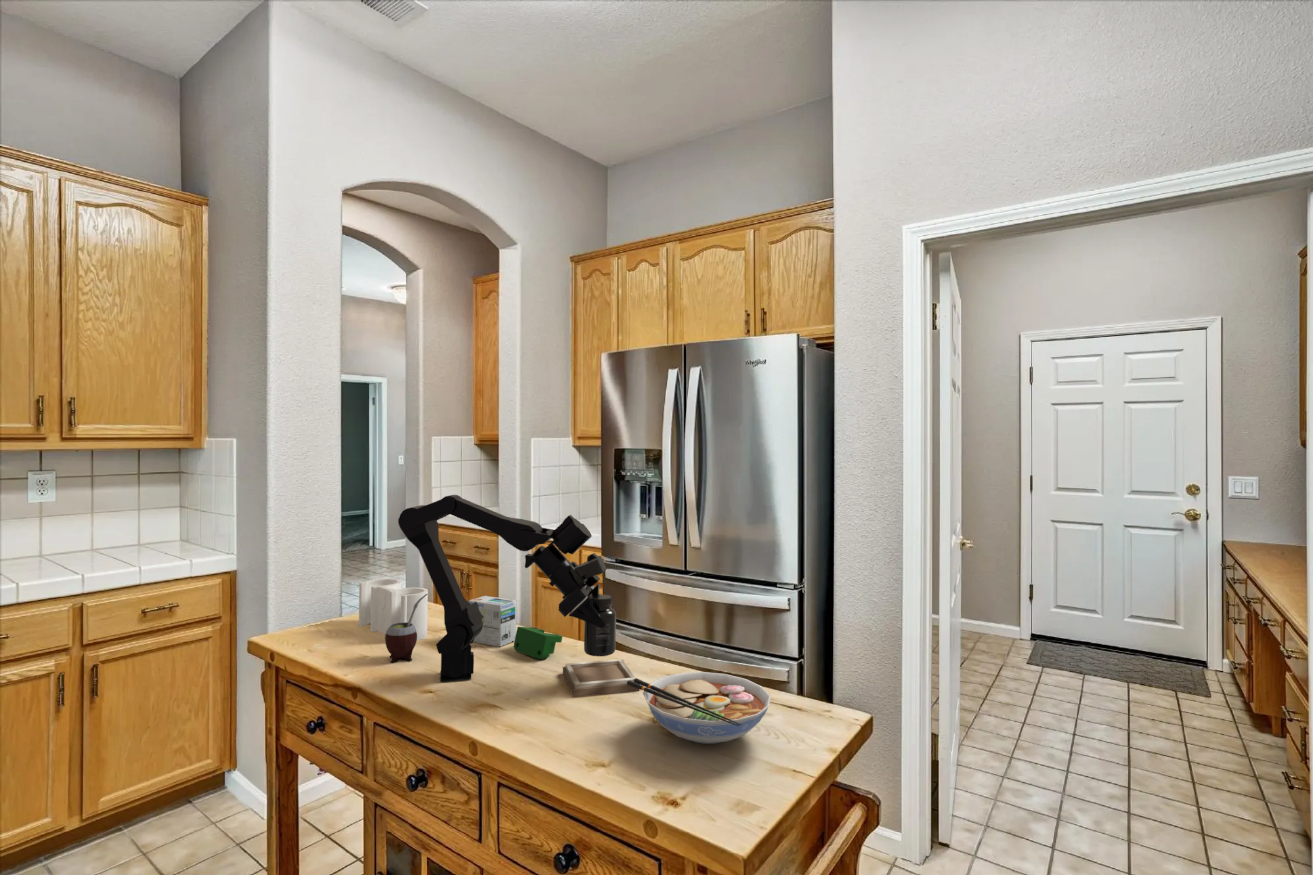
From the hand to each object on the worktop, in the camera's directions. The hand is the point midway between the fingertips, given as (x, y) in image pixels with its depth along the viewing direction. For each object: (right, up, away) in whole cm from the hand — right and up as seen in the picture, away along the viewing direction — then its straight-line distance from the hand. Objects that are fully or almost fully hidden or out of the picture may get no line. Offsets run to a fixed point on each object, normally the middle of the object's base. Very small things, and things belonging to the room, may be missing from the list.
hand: (606, 621), depth 141 cm
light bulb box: (-32, -13, +28) cm, 44 cm away
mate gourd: (-49, -13, +13) cm, 53 cm away
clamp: (-18, -13, +19) cm, 30 cm away
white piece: (-60, -13, +36) cm, 71 cm away
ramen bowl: (+20, -14, -24) cm, 34 cm away
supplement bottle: (-2, -7, 0) cm, 7 cm away
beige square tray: (-1, -13, +1) cm, 13 cm away
